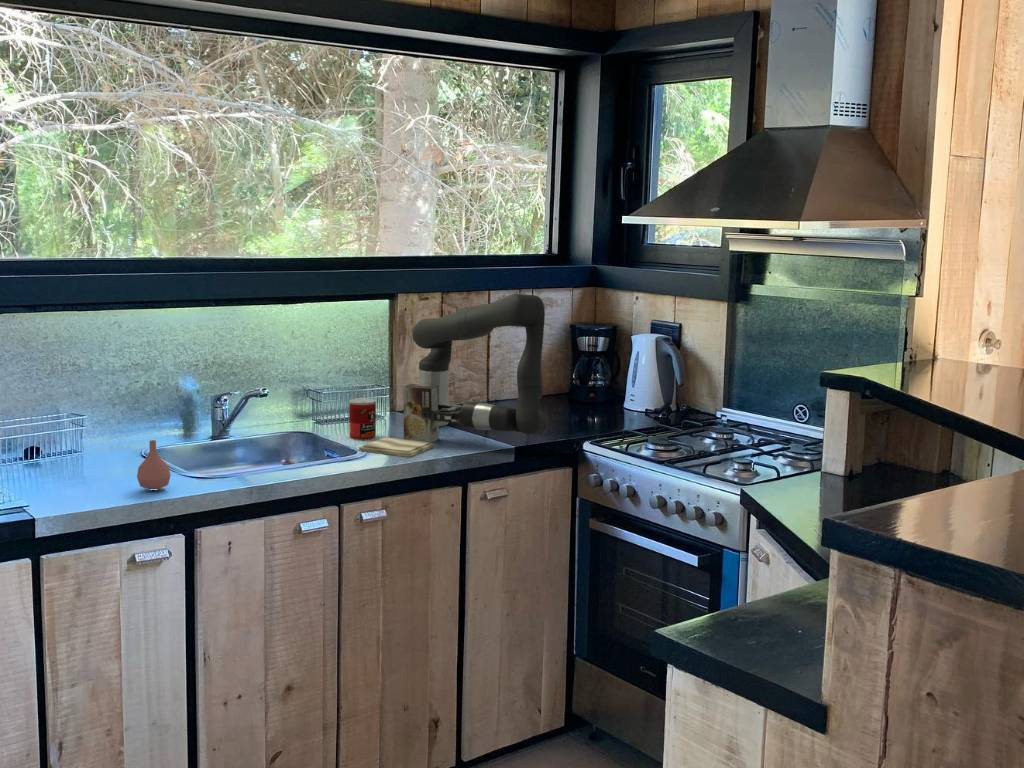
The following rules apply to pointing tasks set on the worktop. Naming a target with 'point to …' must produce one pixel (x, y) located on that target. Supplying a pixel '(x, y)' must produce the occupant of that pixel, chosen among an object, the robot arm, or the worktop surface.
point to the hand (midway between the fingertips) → (429, 410)
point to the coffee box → (420, 412)
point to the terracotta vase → (153, 470)
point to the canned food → (362, 418)
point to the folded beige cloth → (396, 447)
